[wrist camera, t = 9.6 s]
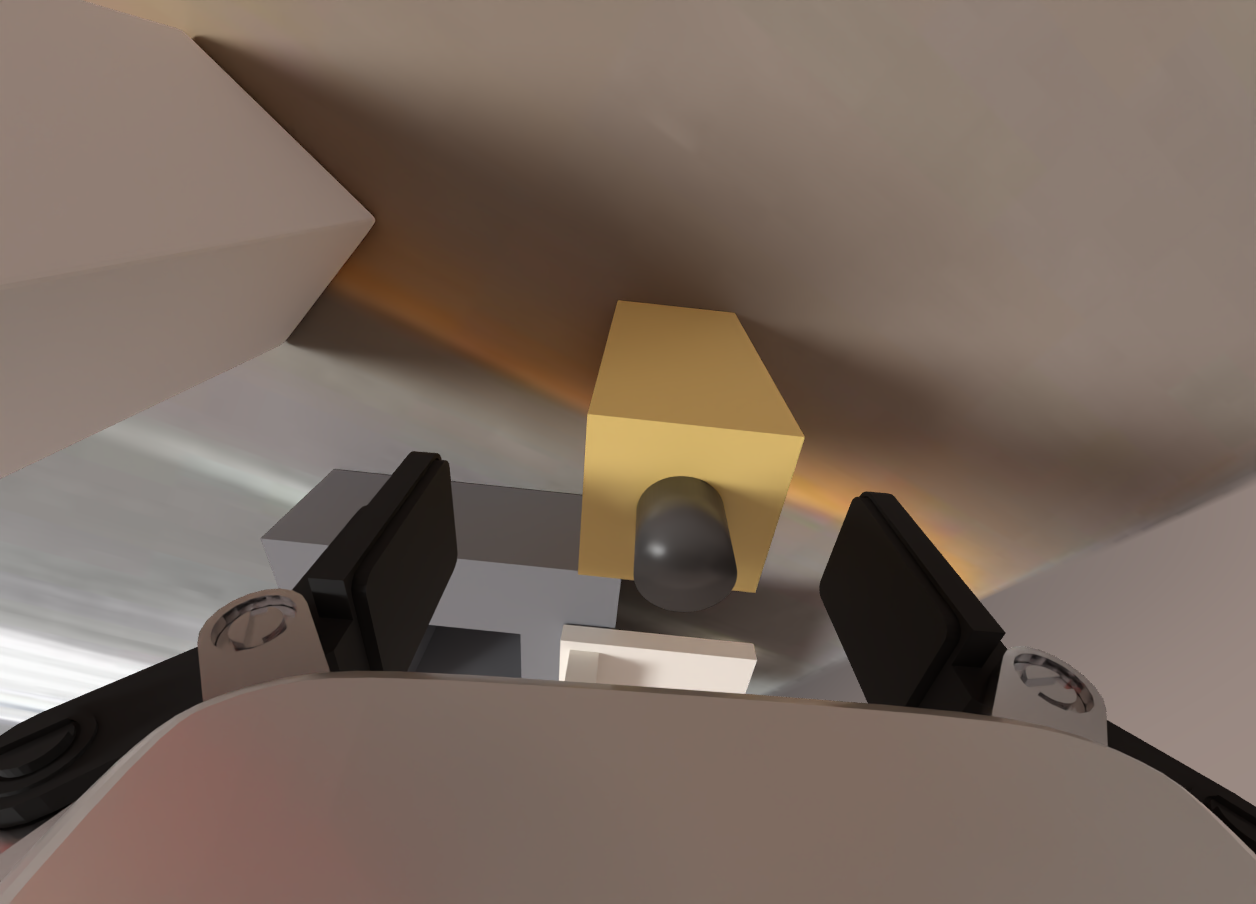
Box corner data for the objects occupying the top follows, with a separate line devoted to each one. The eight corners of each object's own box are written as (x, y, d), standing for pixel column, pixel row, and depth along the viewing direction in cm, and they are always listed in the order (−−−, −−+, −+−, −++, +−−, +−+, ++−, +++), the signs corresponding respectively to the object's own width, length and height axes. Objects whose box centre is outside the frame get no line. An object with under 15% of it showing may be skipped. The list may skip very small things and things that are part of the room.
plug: (734, 312, 19) (836, 493, 8) (712, 417, 21) (772, 661, 11) (618, 300, 19) (573, 464, 8) (608, 406, 21) (565, 641, 11)
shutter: (753, 643, 20) (766, 707, 18) (717, 749, 24) (724, 812, 22) (563, 624, 20) (551, 685, 18) (559, 733, 24) (548, 795, 22)
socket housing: (627, 499, 23) (621, 575, 19) (605, 681, 30) (598, 767, 26) (333, 469, 23) (260, 538, 19) (380, 659, 30) (335, 741, 26)
